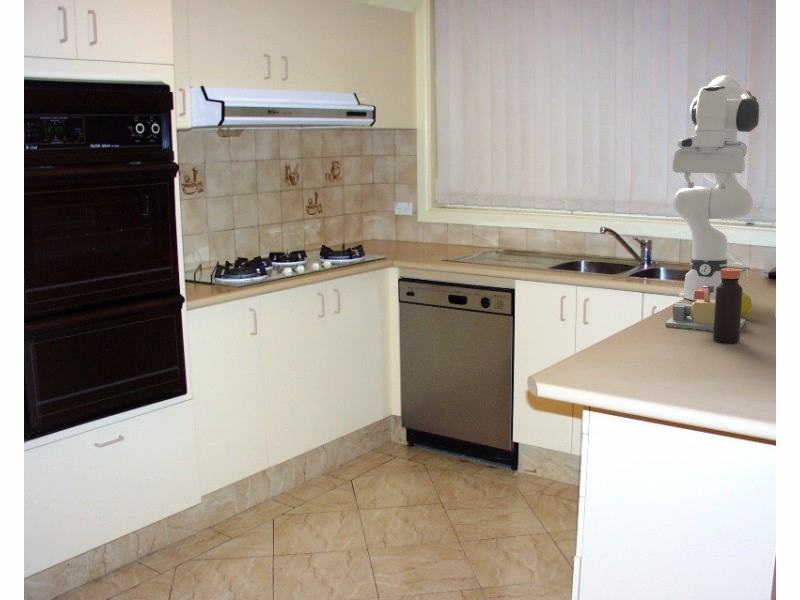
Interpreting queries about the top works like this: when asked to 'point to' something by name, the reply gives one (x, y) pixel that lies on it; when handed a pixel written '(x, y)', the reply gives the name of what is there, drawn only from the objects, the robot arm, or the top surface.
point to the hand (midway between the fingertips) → (706, 188)
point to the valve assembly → (695, 315)
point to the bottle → (728, 307)
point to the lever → (703, 292)
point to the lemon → (745, 305)
